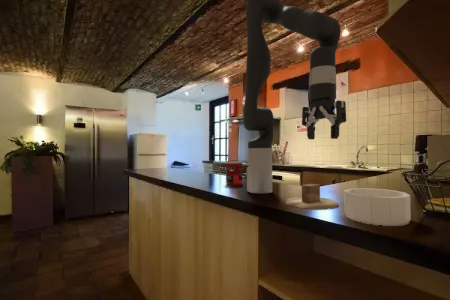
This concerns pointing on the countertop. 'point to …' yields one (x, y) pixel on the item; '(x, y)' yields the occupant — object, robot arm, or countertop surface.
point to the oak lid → (311, 199)
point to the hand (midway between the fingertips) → (322, 139)
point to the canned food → (234, 173)
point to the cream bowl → (377, 206)
